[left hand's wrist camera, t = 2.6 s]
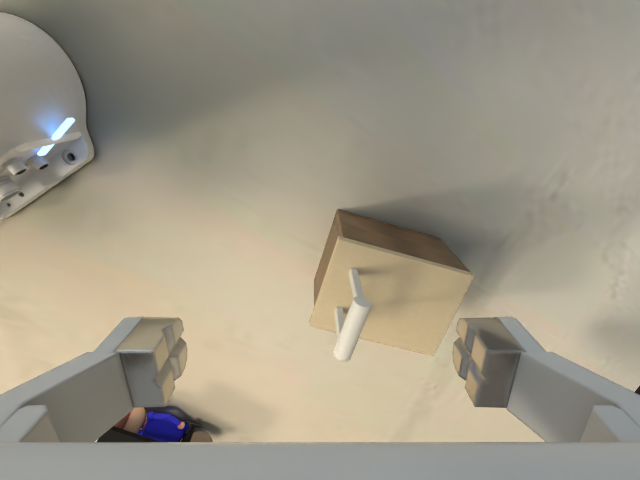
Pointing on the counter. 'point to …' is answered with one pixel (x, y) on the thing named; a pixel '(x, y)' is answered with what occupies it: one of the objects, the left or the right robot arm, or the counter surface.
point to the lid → (387, 298)
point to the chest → (383, 242)
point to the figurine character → (153, 429)
